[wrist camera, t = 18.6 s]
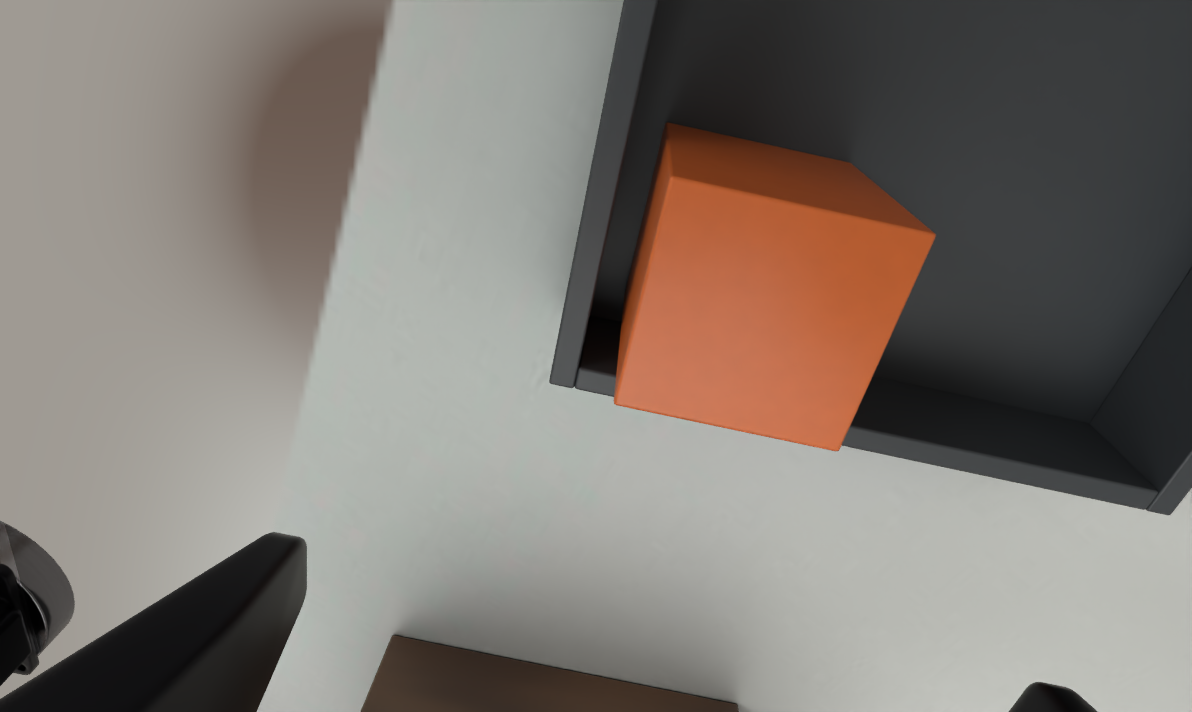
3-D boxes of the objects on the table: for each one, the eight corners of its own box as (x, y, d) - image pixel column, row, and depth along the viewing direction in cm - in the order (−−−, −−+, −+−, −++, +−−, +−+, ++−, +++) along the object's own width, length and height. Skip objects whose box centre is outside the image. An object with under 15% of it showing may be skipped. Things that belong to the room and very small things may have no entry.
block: (623, 296, 18) (612, 405, 13) (665, 121, 16) (670, 175, 11) (789, 331, 18) (839, 453, 13) (852, 163, 16) (939, 234, 11)
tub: (565, 319, 19) (548, 384, 16) (686, -284, 13) (697, -374, 10) (1086, 432, 20) (1170, 516, 16) (1438, -103, 13) (1680, -134, 10)
